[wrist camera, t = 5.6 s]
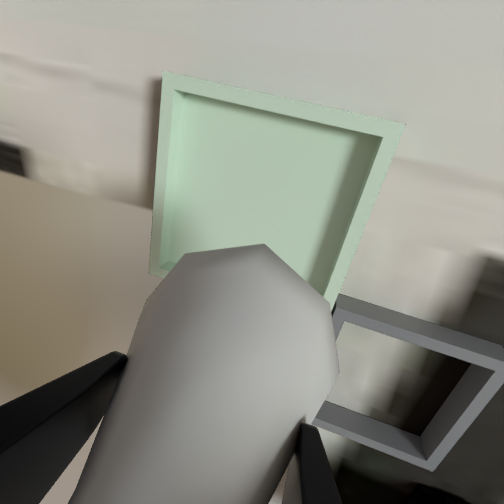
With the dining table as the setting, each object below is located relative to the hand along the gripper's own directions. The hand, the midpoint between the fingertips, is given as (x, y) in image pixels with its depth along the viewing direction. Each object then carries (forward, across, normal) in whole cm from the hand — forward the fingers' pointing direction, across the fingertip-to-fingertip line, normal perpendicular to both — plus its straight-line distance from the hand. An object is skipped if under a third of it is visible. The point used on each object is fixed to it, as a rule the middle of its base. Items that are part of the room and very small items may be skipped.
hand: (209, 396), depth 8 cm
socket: (+13, -10, +8) cm, 19 cm away
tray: (+14, +2, -2) cm, 14 cm away
